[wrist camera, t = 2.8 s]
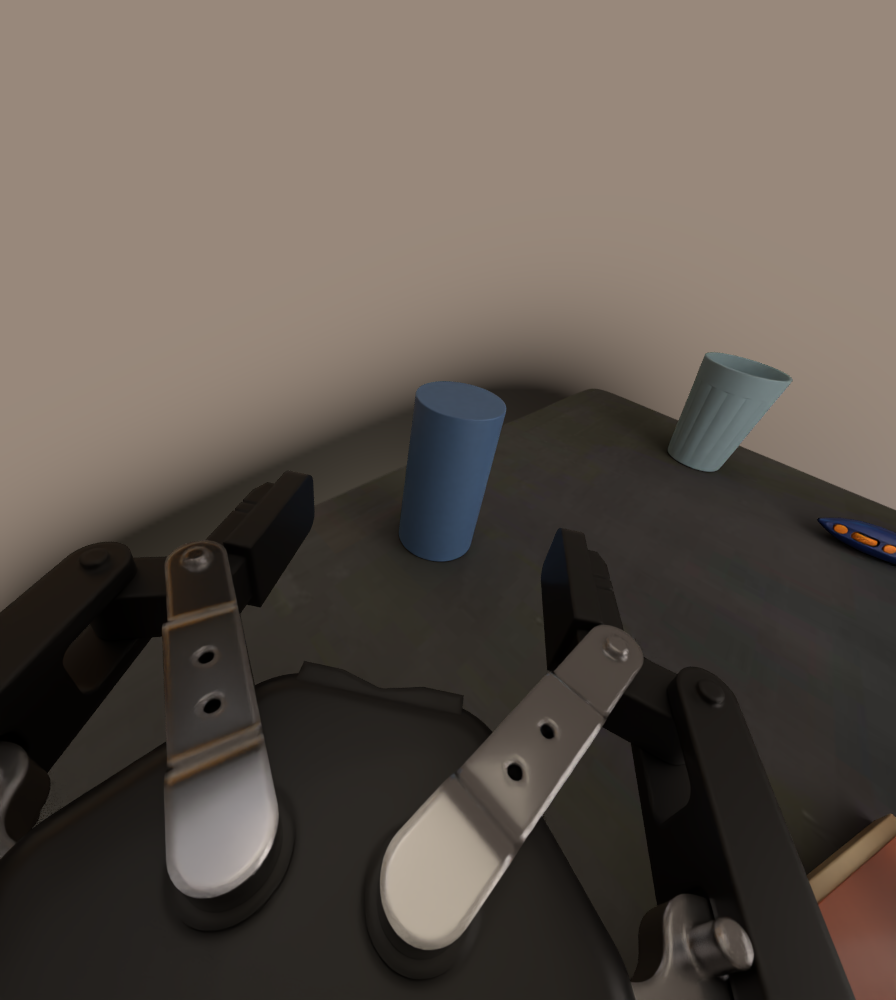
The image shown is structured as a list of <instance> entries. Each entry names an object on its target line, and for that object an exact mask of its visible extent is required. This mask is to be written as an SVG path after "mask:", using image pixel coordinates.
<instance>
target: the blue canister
mask: <svg viewBox="0 0 896 1000" xmlns="http://www.w3.org/2000/svg"><path fill="white" fill-rule="evenodd" d="M505 413H506V405H505V403H504V402H503V401H502V400H501V399H500V398H499V397H498V396H496V395H495V394H493V393H491V392H489V391H487V390H485V389H482V388H479V387H477V386H473V385H469V384H465V383H459V382H450V381H449V382H448V381H440V382H431V383H427V384H424V385H422V386H420V388H418V389H417V391H416V396H415V404H414V413H413V421H412V428H411V436H410V444H409V453H408V461H407V469H406V477H405V485H404V493H403V501H402V510H401V518H400V526H399V537H400V540H401V542H402V544H403V545H404V547H405V548H406V549H407V550H409V551H410V552H411V553H413V554H414V555H416V556H418V557H420V558H423V559H427V560H431V561H450V560H454V559H456V558H459V557H461V556H462V555H464V554H465V553H466V552H467V551H468V549H469V547H470V545H471V541H472V537H473V533H474V530H475V526H476V522H477V518H478V515H479V511H480V507H481V503H482V500H483V496H484V492H485V488H486V484H487V481H488V477H489V473H490V469H491V466H492V462H493V458H494V454H495V450H496V447H497V443H498V439H499V435H500V432H501V428H502V424H503V420H504V416H505Z"/></svg>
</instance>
